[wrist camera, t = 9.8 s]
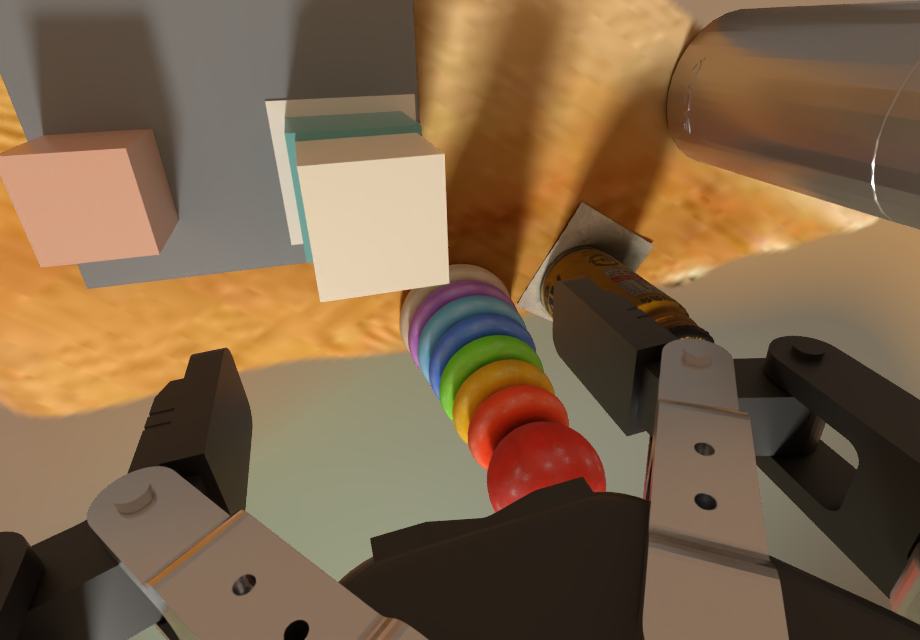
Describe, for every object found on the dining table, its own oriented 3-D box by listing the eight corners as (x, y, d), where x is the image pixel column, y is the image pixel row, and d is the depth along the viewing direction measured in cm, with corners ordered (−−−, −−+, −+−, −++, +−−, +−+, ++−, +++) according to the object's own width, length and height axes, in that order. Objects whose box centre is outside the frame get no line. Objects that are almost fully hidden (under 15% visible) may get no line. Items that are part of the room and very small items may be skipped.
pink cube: (152, 129, 25) (125, 148, 21) (178, 220, 27) (159, 254, 23) (43, 135, 24) (-8, 156, 20) (80, 230, 26) (41, 267, 22)
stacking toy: (498, 245, 35) (673, 420, 19) (512, 342, 39) (665, 552, 23) (384, 278, 34) (471, 494, 18) (411, 374, 38) (501, 618, 22)
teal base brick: (400, 111, 28) (421, 124, 24) (408, 219, 31) (427, 248, 27) (284, 117, 26) (284, 133, 22) (303, 230, 29) (306, 263, 25)
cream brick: (416, 132, 24) (444, 153, 20) (423, 243, 26) (449, 283, 22) (294, 141, 23) (296, 166, 18) (314, 257, 25) (320, 302, 21)
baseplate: (405, -44, 26) (411, -48, 25) (421, 241, 33) (426, 248, 32) (-36, -52, 21) (-54, -56, 20) (94, 280, 29) (87, 289, 28)
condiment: (515, 305, 38) (599, 405, 28) (580, 201, 35) (699, 269, 25) (587, 337, 41) (685, 436, 31) (651, 243, 38) (781, 319, 28)
